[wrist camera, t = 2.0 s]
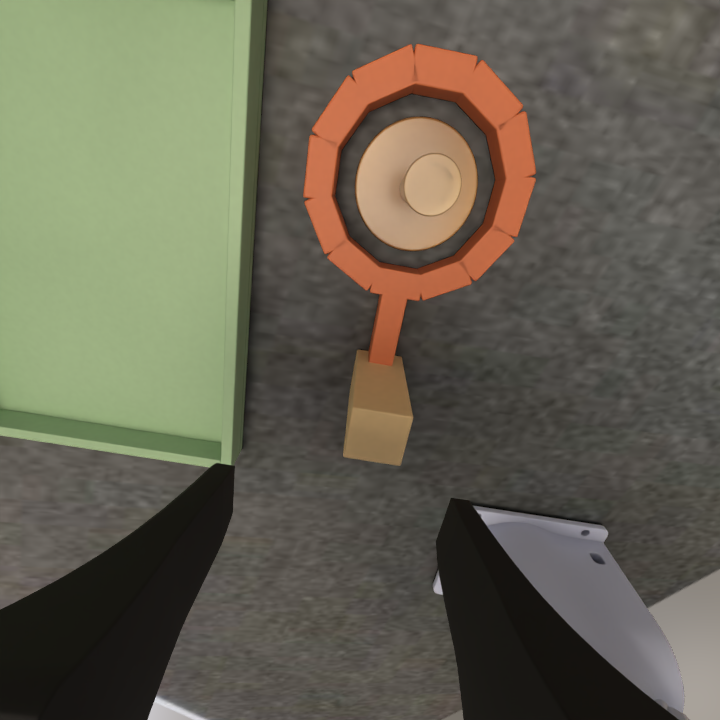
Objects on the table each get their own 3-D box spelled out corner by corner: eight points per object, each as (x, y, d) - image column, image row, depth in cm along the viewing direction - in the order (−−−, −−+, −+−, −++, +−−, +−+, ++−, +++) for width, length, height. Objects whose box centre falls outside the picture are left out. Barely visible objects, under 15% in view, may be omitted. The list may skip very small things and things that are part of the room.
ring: (552, 85, 15) (656, 23, 10) (452, 405, 21) (481, 479, 16) (325, 38, 15) (298, -54, 9) (288, 378, 21) (258, 444, 15)
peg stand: (488, 132, 16) (543, 103, 11) (455, 258, 18) (488, 282, 13) (366, 108, 16) (365, 67, 11) (347, 238, 18) (337, 255, 13)
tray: (268, -7, 14) (253, -37, 12) (242, 448, 23) (231, 471, 21) (-125, -90, 14) (-202, -134, 12) (-2, 410, 22) (-35, 430, 20)
